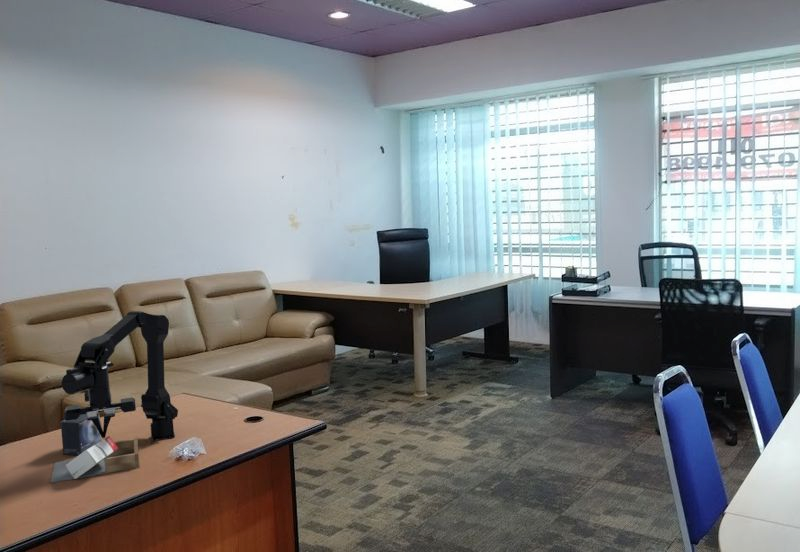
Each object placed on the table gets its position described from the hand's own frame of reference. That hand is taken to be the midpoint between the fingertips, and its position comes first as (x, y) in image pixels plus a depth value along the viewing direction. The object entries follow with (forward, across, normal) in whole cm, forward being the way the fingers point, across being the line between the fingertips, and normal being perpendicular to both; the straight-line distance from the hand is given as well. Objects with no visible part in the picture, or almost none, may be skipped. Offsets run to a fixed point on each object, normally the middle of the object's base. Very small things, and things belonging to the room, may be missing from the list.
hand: (103, 437), depth 206 cm
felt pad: (+8, +7, 0) cm, 11 cm away
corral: (+8, -4, 0) cm, 9 cm away
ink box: (+4, 0, 0) cm, 4 cm away
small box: (+8, +7, -18) cm, 21 cm away
